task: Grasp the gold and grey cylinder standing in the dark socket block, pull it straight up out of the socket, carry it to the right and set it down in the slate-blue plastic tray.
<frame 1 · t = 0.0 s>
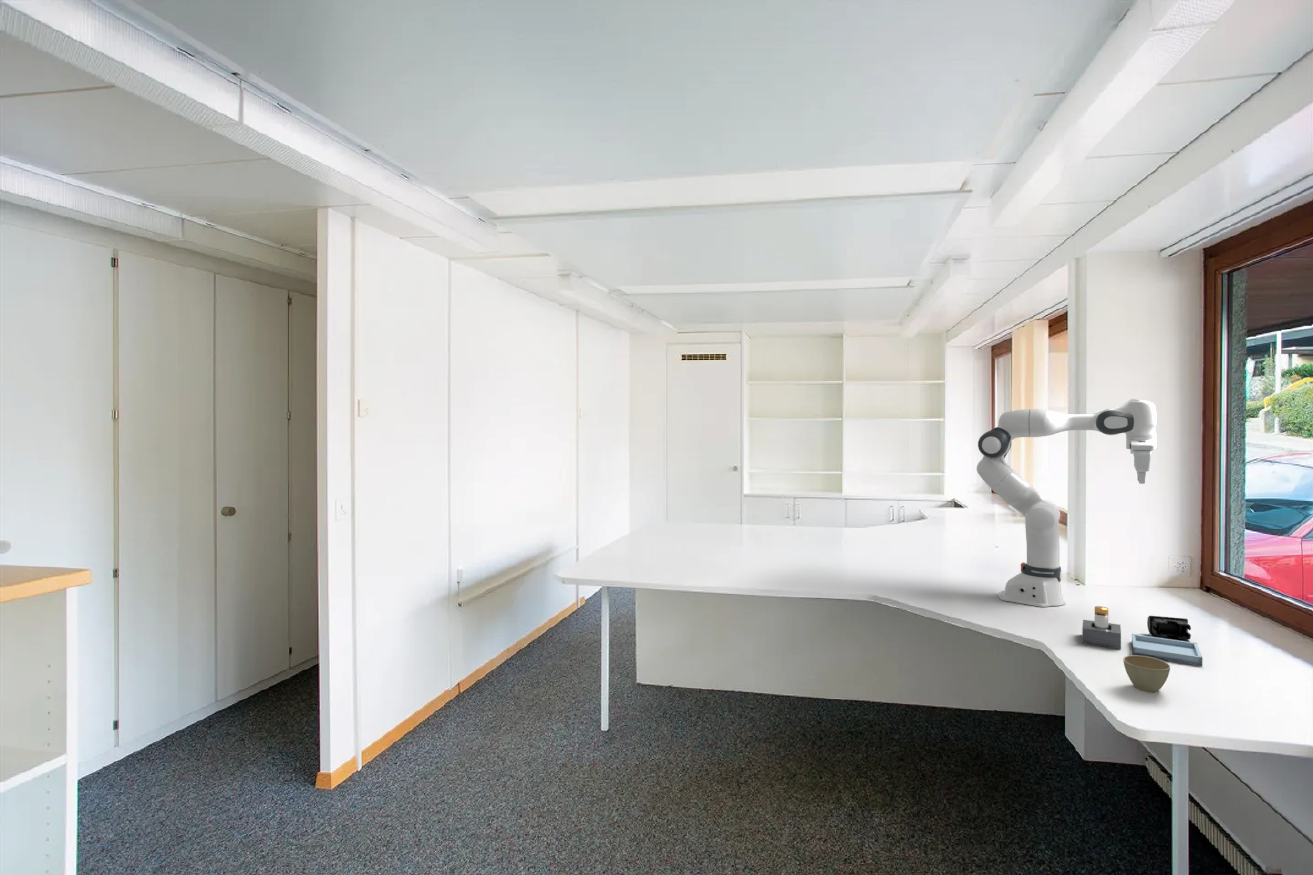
hand: (1141, 482, 233), 48 cm above the table, fingers open, 8 cm apart
end cap: (1169, 639, 208), on the table
olive bowl: (1146, 689, 171), on the table
socket block: (1101, 641, 207), on the table
gold and grey cylinder: (1101, 624, 206), in the socket block
tray: (1165, 653, 196), on the table
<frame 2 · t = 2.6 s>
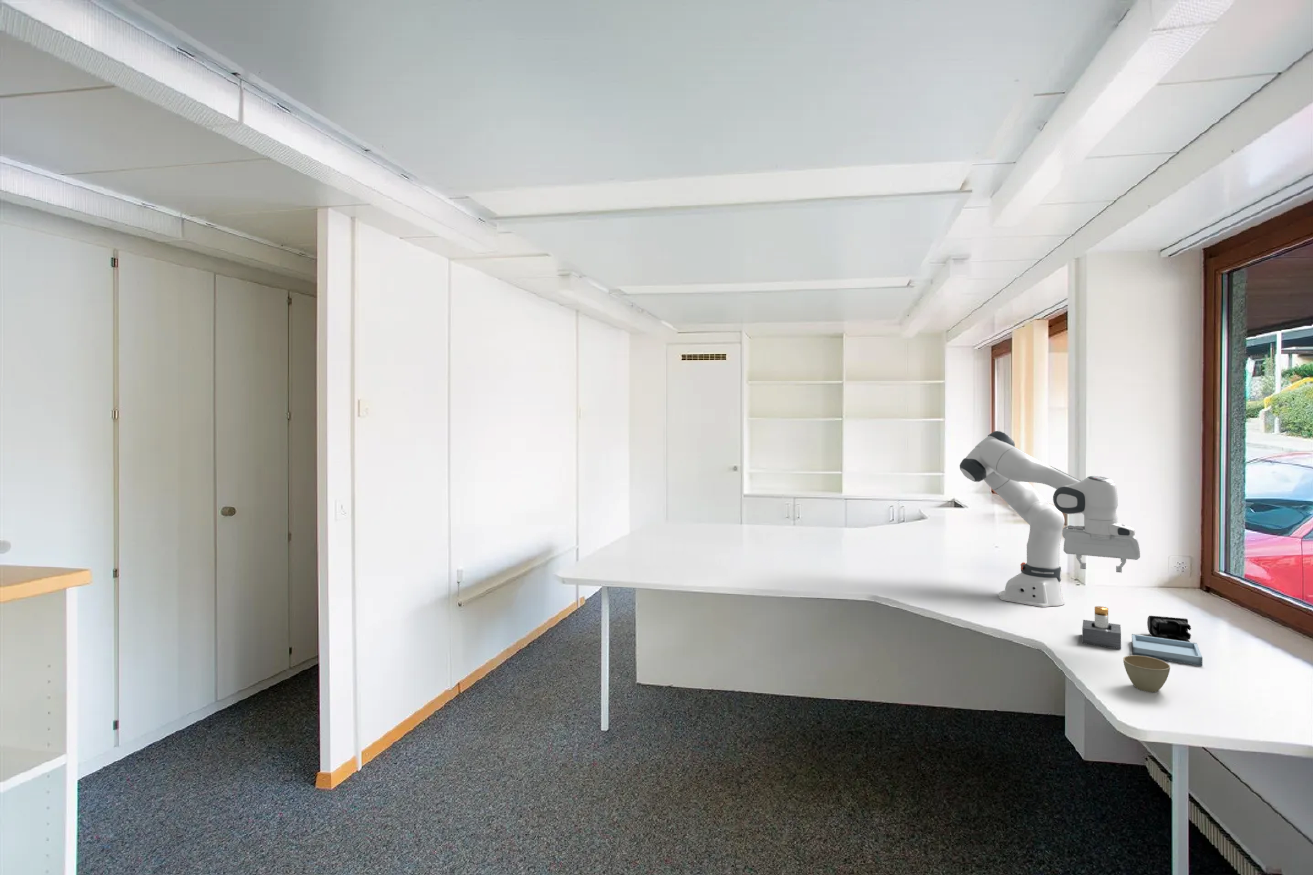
hand: (1100, 570, 206), 23 cm above the table, fingers open, 8 cm apart
nothing on the table moved.
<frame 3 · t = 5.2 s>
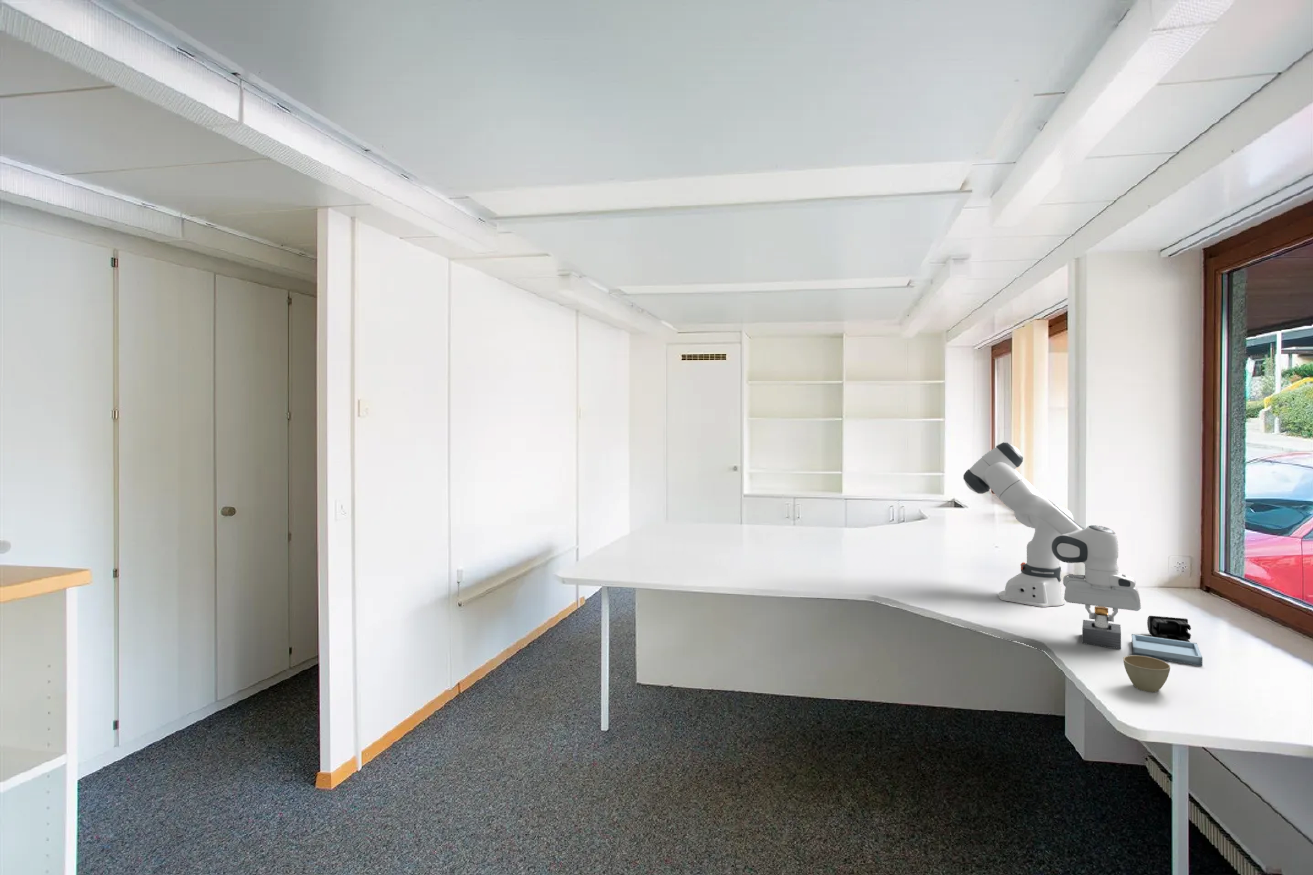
hand: (1101, 619, 206), 7 cm above the table, fingers closed on gold and grey cylinder, 4 cm apart
gold and grey cylinder: (1101, 624, 206), in the socket block, touching gripper
everything else where it was.
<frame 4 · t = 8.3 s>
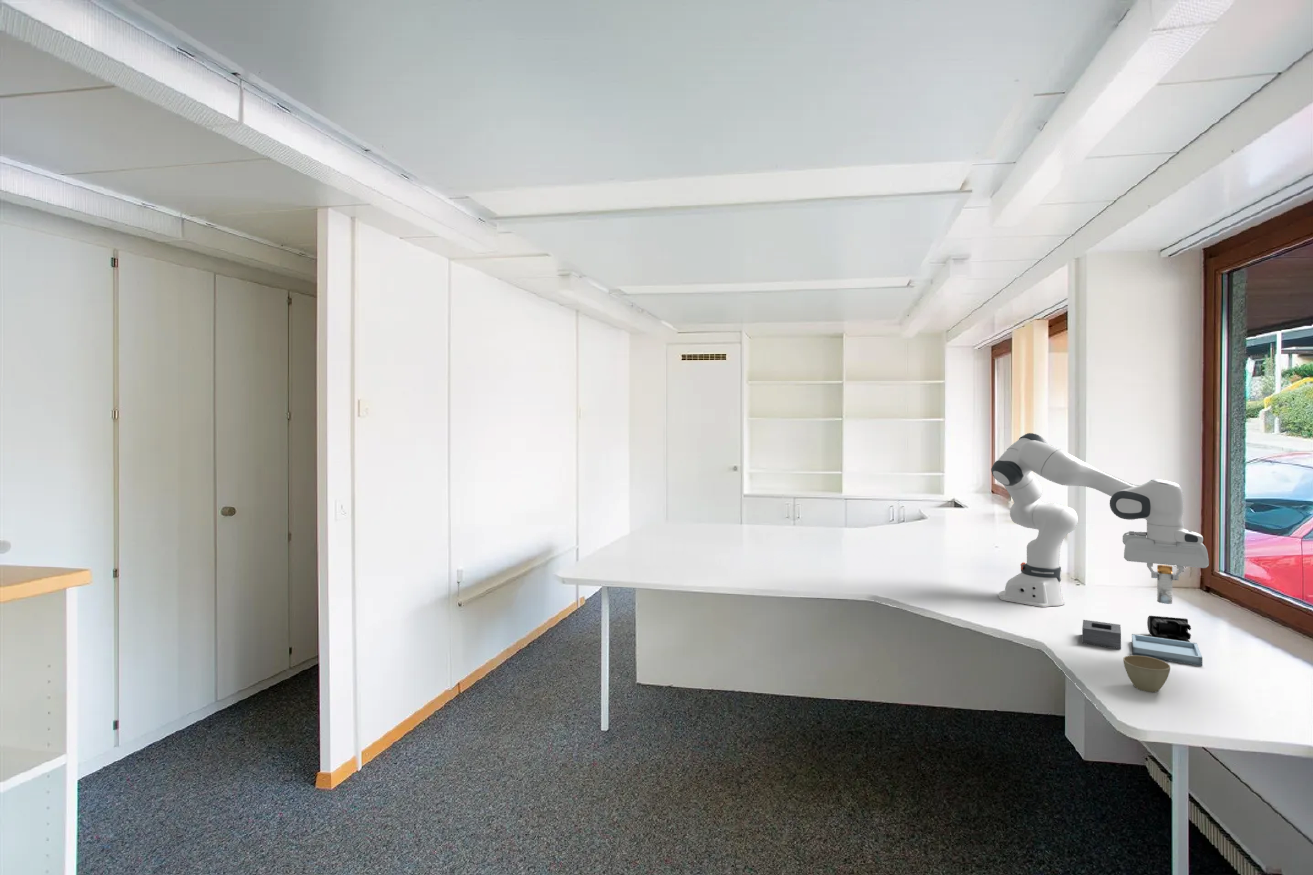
hand: (1164, 578, 195), 23 cm above the table, fingers closed on gold and grey cylinder, 4 cm apart
gold and grey cylinder: (1164, 584, 195), point 21 cm above the table, touching gripper
everything else where it was.
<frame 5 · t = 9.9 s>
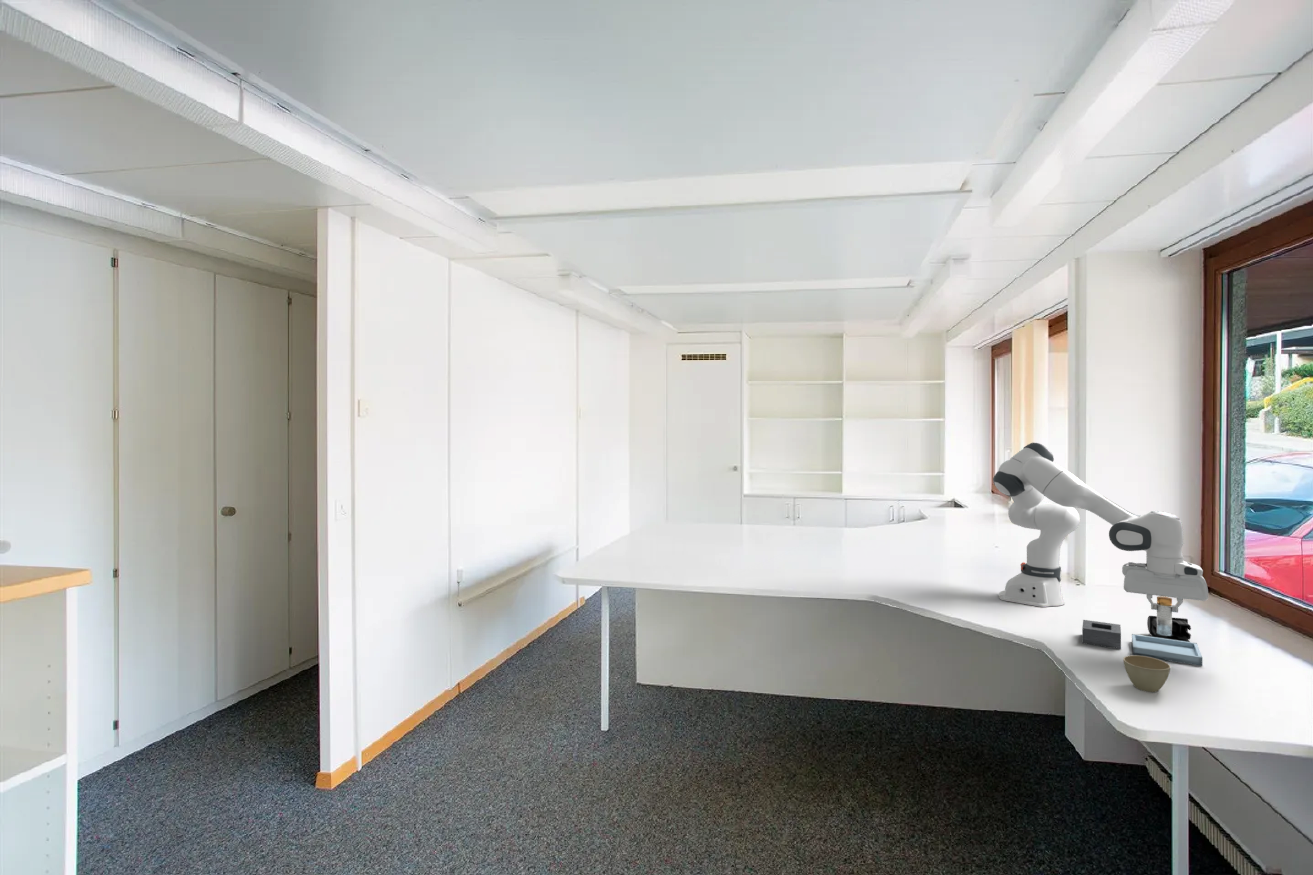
hand: (1164, 610, 195), 13 cm above the table, fingers closed on gold and grey cylinder, 4 cm apart
gold and grey cylinder: (1164, 615, 195), point 12 cm above the table, touching gripper
everything else where it was.
when the fingers open (9 cm above the table, at t = 11.5 s): gold and grey cylinder stays where it is, resting on tray.
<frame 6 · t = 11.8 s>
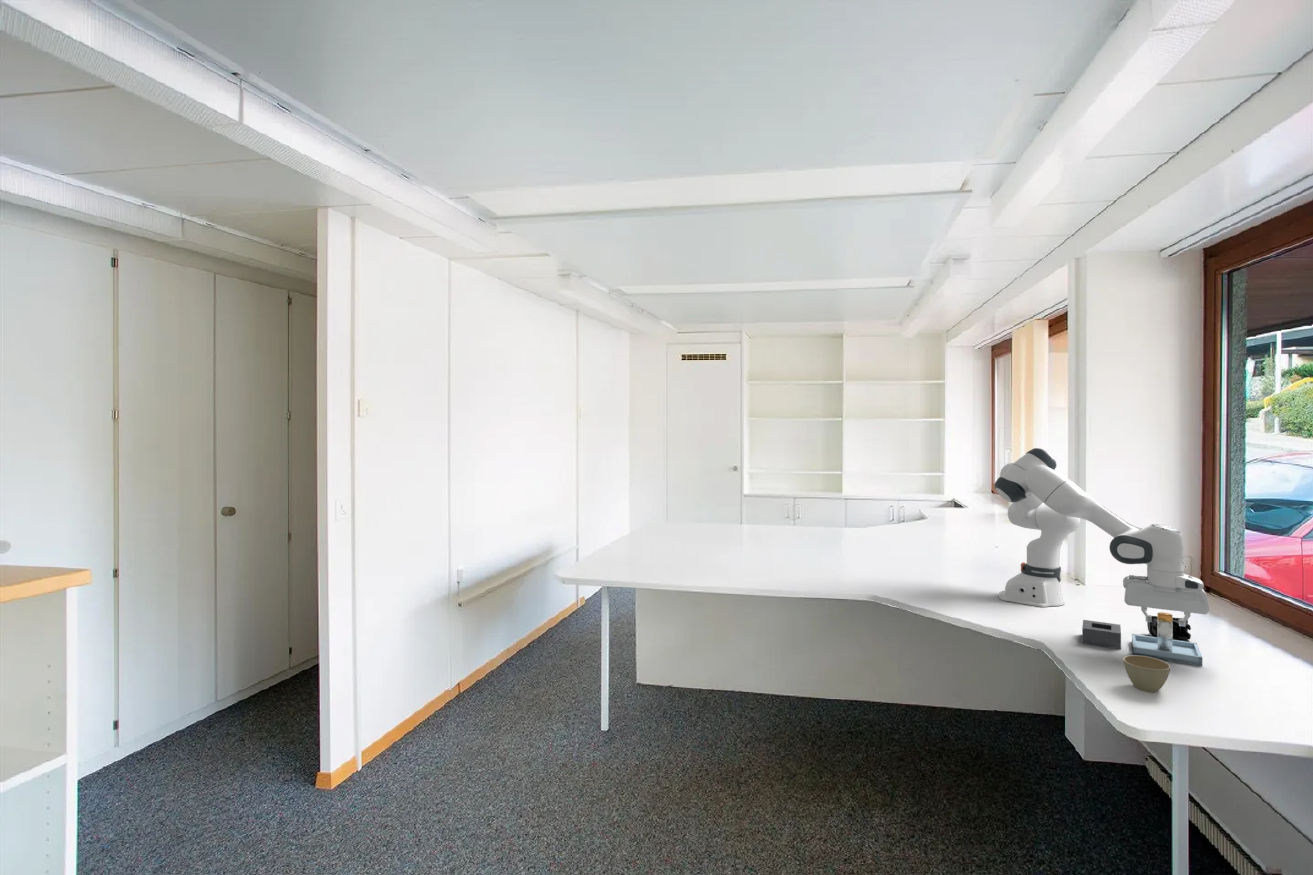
hand: (1165, 623, 195), 9 cm above the table, fingers open, 7 cm apart
gold and grey cylinder: (1164, 632, 196), in the tray, point 6 cm above the table
everything else where it was.
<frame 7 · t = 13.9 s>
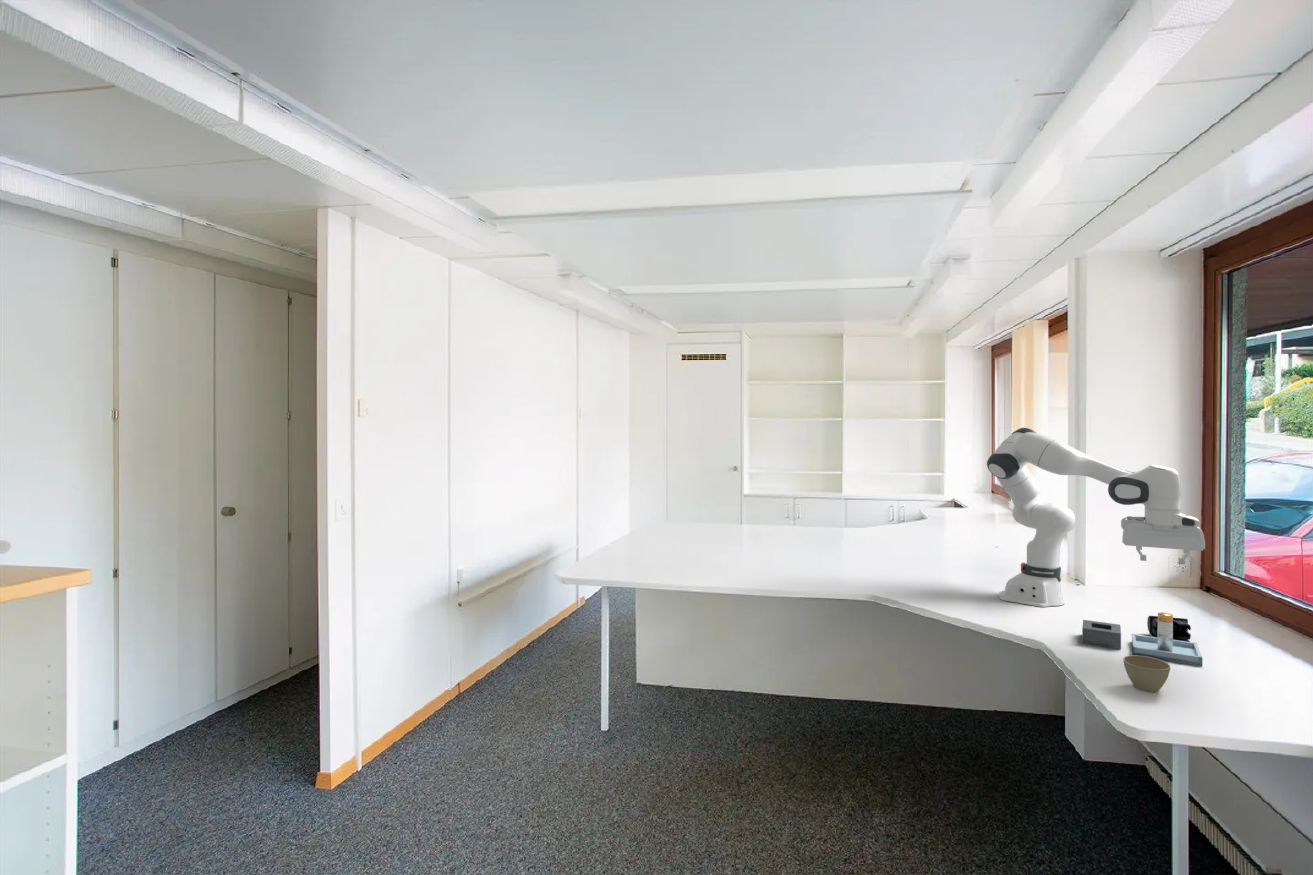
hand: (1162, 562, 200), 27 cm above the table, fingers open, 8 cm apart
nothing on the table moved.
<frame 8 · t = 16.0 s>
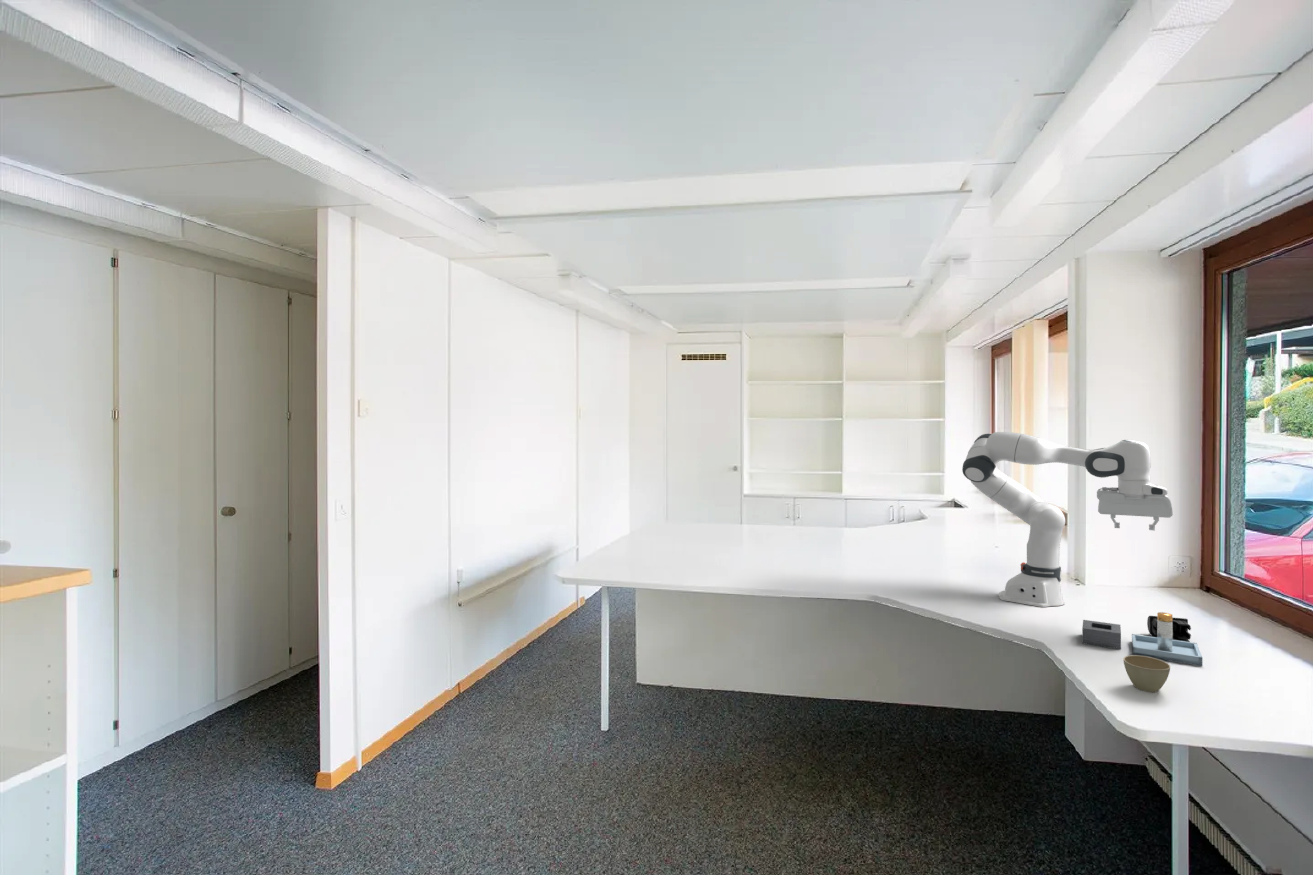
hand: (1134, 529, 217), 34 cm above the table, fingers open, 8 cm apart
nothing on the table moved.
at the end: gold and grey cylinder inside the target area on the tray (0.1 cm from its centre), point 6.5 cm above the tray's base; gold and grey cylinder moved 16.1 cm from its start; the gripper is holding nothing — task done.
